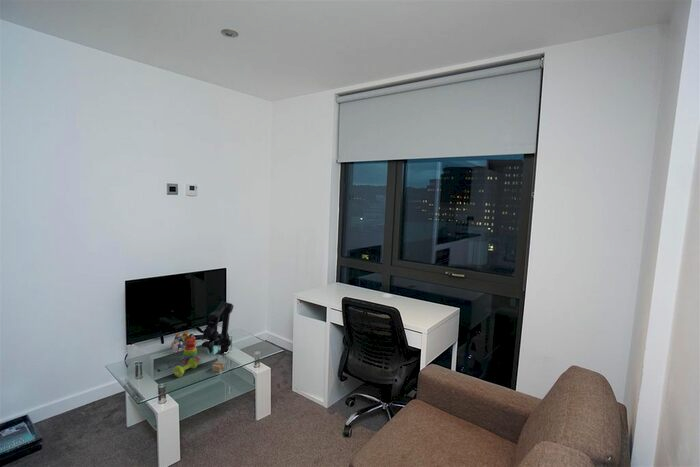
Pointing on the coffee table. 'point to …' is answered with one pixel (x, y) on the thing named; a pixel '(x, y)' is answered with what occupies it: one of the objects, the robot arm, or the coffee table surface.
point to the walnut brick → (217, 367)
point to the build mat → (214, 372)
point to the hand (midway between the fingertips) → (212, 351)
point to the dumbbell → (185, 367)
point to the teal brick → (215, 350)
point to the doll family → (177, 342)
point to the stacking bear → (190, 350)
